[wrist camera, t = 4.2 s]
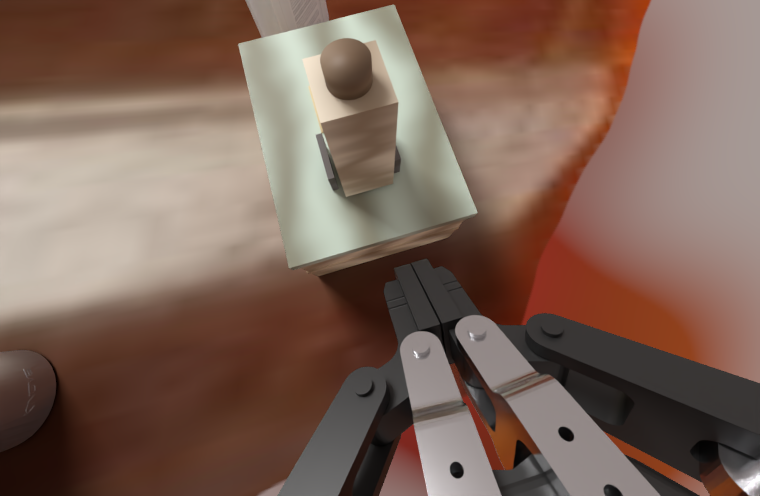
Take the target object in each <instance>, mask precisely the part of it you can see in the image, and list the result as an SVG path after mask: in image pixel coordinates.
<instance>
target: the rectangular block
mask: <svg viewBox="0 0 760 496" xmlns="http://www.w3.org/2000/svg"><path fill="white" fill-rule="evenodd" d="M342 38H352V39H356V40H359V41H361V42H362V43H366V42H370V41H374V40H376V42H377V45H378V48H379V50H380V53H381V56H382V59H383V61H384V64H385V67H386V69H387V72H388V75H389V78H390V80H391V83H392V86H393V88H394V91H395V94H396V97H397V99H398V118H397V133H396V148H395V163H394V178H393V184H390V185H386V186H383V187H379V188H376V189H372V190H369V191H365V192H362V193H358V194H355V195H351V196H348V197H346V196H345V193H344V190H343V187H342V184H341V181H340V178H339V175H338V172H337V170H336V167H335V164H334V161H333V158H332V155H331V152H330V149H329V146H328V144H327V141H326V138H325V135H324V132H323V129H322V126H321V123H320V120H319V116H318V113H317V109H316V106H315V102H314V99H313V95H312V92H311V88H310V85H309V81H308V78H307V75H306V71H305V68H304V64H303V61H302V59H304V58H308V57H312V56H316V55H320V54H322V51H323V50H324V48H325V47H326V46H327V45H328V44H330V43H331V42H333V41H335V40H338V39H342ZM238 45H239V49H240V54H241V58H242V63H243V67H244V71H245V76H246V80H247V85H248V89H249V93H250V98H251V102H252V107H253V111H254V116H255V120H256V124H257V129H258V133H259V138H260V142H261V147H262V151H263V155H264V160H265V164H266V169H267V173H268V177H269V182H270V186H271V191H272V195H273V200H274V204H275V208H276V213H277V217H278V222H279V226H280V230H281V235H282V239H283V244H284V248H285V253H286V257H287V261H288V266H289V269H292V270H296V269H299V268H302V269H304V270H306V271H307V273H312V274H314V275H316V276H321V275H324V274H328V273H331V272H334V271H338V270H341V269H344V268H348V267H351V266H355V265H358V264H361V263H365V262H368V261H371V260H375V259H378V258H381V257H385V256H388V255H392V254H395V253H398V252H402V251H405V250H408V249H412V248H415V247H418V246H422V245H425V244H429V243H432V242H435V241H439V240H442V239H445V238H449V237H450V236H451V234H452V233H453V232H454V231H455V230H457V229H459V228H460V227H459V225H460V224H461V223H462V222H463V221H464V220H465V219H468V218H472V217H474V216H475V215H476V214H477V213H478V212H477V210H476V207H475V205H474V202H473V200H472V197H471V195H470V192H469V190H468V187H467V185H466V182H465V180H464V177H463V175H462V172H461V170H460V167H459V165H458V162H457V160H456V158H455V155H454V153H453V150H452V148H451V145H450V143H449V140H448V138H447V135H446V133H445V130H444V128H443V125H442V123H441V120H440V118H439V115H438V113H437V110H436V108H435V105H434V103H433V100H432V98H431V95H430V93H429V90H428V88H427V85H426V83H425V80H424V78H423V75H422V73H421V70H420V68H419V65H418V63H417V60H416V58H415V55H414V53H413V50H412V48H411V45H410V43H409V40H408V38H407V35H406V33H405V30H404V28H403V25H402V23H401V20H400V18H399V15H398V13H397V10H396V8H395V5H390V6H386V7H382V8H378V9H374V10H370V11H366V12H363V13H359V14H355V15H351V16H347V17H343V18H339V19H335V20H331V21H327V22H323V23H319V24H315V25H311V26H307V27H303V28H299V29H295V30H291V31H287V32H283V33H279V34H275V35H272V36H268V37H264V38H260V39H256V40H252V41H248V42H244V43H240V44H238Z"/></svg>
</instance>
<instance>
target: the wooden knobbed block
mask: <svg viewBox="0 0 760 496" xmlns="http://www.w3.org/2000/svg"><path fill="white" fill-rule="evenodd" d="M302 61H303V64H304V68H305V71H306V75H307V78H308V81H309V85H310V88H311V92H312V95H313V99H314V102H315V106H316V109H317V113H318V116H319V120H320V123H321V126H322V129H323V132H324V135H325V138H326V141H327V144H328V146H329V149H330V152H331V155H332V158H333V161H334V164H335V167H336V170H337V172H338V175H339V178H340V181H341V184H342V187H343V190H344V193H345V196H346V197H348V196H351V195H355V194H358V193H362V192H365V191H369V190H372V189H376V188H379V187H383V186H386V185H390V184H393V178H394V163H395V148H396V133H397V118H398V99H397V97H396V94H395V91H394V88H393V86H392V83H391V80H390V78H389V75H388V72H387V69H386V67H385V64H384V61H383V59H382V56H381V53H380V50H379V48H378V45H377V42H376V40H374V41H370V42H366V43H362V42H361V41H359V40H356V39H352V38H342V39H338V40H335V41H333V42H331V43H330V44H328V45H327V46H326V47H325V48H324V50H323V51H322V54H320V55H316V56H312V57H308V58H304V59H302Z"/></svg>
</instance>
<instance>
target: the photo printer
mask: <svg viewBox="0 0 760 496" xmlns="http://www.w3.org/2000/svg"><path fill="white" fill-rule="evenodd" d="M246 2H247V5H248V7H249V9H250V11H251V14H252V16H253V18H254V20H255V23H256V25H257V27H258V29H259V32H260V34H261V36H262V38H264V37H268V36H272V35H275V34H279V33H283V32H287V31H291V30H295V29H299V28H303V27H307V26H311V25H315V24H319V23H323V22H327V21H329V16H328V11H327V5H326V0H246Z"/></svg>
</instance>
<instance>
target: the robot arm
mask: <svg viewBox="0 0 760 496" xmlns="http://www.w3.org/2000/svg"><path fill="white" fill-rule="evenodd" d="M394 272H395V277H396V280H394V281H390V282H387V283H386V284H385V288H384V296H385V299H386V303H387V306H388V310H389V313H390V317H391V320H392V323H393V327H394V330H395V333H396V337H397V340H398V349H397V352H396V354H395V355H394V357H393V358H392V359H391V360H390V361H389V362H388V363H386V364H385V365H383V366H382V367H380V368H379V369H376V368H373V367H362V368H359V369H357V370H355V371H353V372H352V373H351V374H350V375H349V376H348V377H347V379H346V380H345V382H344V383H343V385H342V387H341V389H340V390H339V392H338V394H337V395H336V397H335V399H334V400H333V402H332V404H331V406H330V407H329V409H328V411H327V412H326V414H325V416H324V417H323V419H322V421H321V422H320V424H319V426H318V428H317V429H316V431H315V433H314V434H313V436H312V438H311V439H310V441H309V443H308V445H307V446H306V448H305V450H304V451H303V453H302V455H301V456H300V458H299V460H298V462H297V463H296V465H295V467H294V468H293V470H292V472H291V473H290V475H289V477H288V478H287V480H286V482H285V484H284V485H283V487H282V489H281V490H280V492H279V494H278V496H379V494H380V491H381V488H382V486H383V483H384V480H385V478H386V475H387V472H388V470H389V467H390V464H391V462H392V459H393V456H394V454H395V451H396V448H397V445H398V443H399V440H400V438H401V434H402V433H403V432H404V431H405V430H406V429H408V428H409V427H410V426H411V425H412V424H414V427H415V433H416V438H417V443H418V448H419V452H420V457H421V462H422V467H423V472H424V477H425V482H426V487H427V492H428V496H699V495H697V494H696V493H694V492H692V491H690V490H688V489H687V488H685V487H683V486H682V485H680V484H678V483H676V482H675V481H673V480H671V479H669V478H667V477H666V476H664V475H662V474H660V473H659V472H657V471H655V470H654V469H652V468H650V467H648V466H646V465H644V464H643V463H641V462H639V461H637V460H636V459H633V458H631V457H629V456H627V455H624V454H623V453H622V452H621V451H620V450H619V449H618V448H617V447H616V446H615V444H614V443H613V442H612V441H611V440H610V439H609V438H608V436H606V434H605V433H604V432H603V431H605V432H606V433H608V434H610V435H612V436H614V437H616V438H618V439H620V440H622V441H624V442H625V443H627V444H630V445H631V446H633V447H635V448H637V449H639V450H641V451H643V452H645V453H647V454H648V455H651V456H652V457H654V458H656V459H658V460H660V461H662V462H664V463H666V464H668V465H670V466H671V467H673V468H675V469H677V470H679V471H681V472H683V473H685V474H687V475H689V476H691V477H693V478H695V479H696V480H698V481H700V482H702V483H703V484H704V486H705V488H706V490H707V491H708V493H709V494H710V496H760V383H757V382H754V381H751V380H748V379H745V378H742V377H739V376H736V375H733V374H730V373H727V372H724V371H721V370H718V369H715V368H712V367H709V366H706V365H703V364H700V363H697V362H694V361H691V360H689V359H686V358H683V357H680V356H677V355H673V354H671V353H668V352H665V351H661V350H659V349H656V348H653V347H650V346H647V345H644V344H641V343H638V342H635V341H632V340H629V339H626V338H623V337H620V336H617V335H614V334H611V333H608V332H605V331H602V330H599V329H596V328H593V327H590V326H587V325H584V324H581V323H578V322H575V321H572V320H569V319H566V318H563V317H560V316H557V315H554V314H547V313H544V314H537V315H534V316H533V317H531V318H530V319H529V320H528V321H527V324H526V325H499V324H495V323H494V322H493V321H492V320H490V319H488V318H486V317H484V316H482V315H481V314H480V312H479V311H478V309H477V308H476V307H475V305H474V304H473V302H472V301H471V299H470V298H469V297H468V295H467V294H466V292H465V291H464V289H463V288H462V286H461V285H460V284H459V282H457V279H456V278H455V276H454V275H453V274H452V272H451V271H449V270H447V269H446V268H444V267H442V266H441V267H437V268H434V269H433V267H432V266H431V264H430V262H429V261H428V259H423V260H420V261H416V262H413V263H411V265H410V264H407V265H403V266H400V267H396V268H394ZM452 363H455V365H456V367H457V369H458V371H459V375H460V381H461V384H462V386H463V387H464V389H465V391H466V393H467V395H468V396H469V398H470V400H471V401H472V403H473V405H474V407H475V409H476V411H477V412H478V414H479V416H480V418H481V419H482V421H483V423H484V425H485V426H486V428H487V430H488V432H489V434H490V436H491V438H492V440H493V443H494V446H495V449H496V452H497V454H498V457H499V459H500V461H501V463H502V465H503V467H504V469H505V470H492V469H491V466H490V464H489V461H488V458H487V456H486V453H485V451H484V448H483V445H482V442H481V440H480V437H479V434H478V432H477V429H476V427H475V424H474V421H473V419H472V416H471V414H470V411H469V409H468V407H467V405H466V404H465V403H464V402H463V400H462V398H461V395H460V393H459V390H458V387H457V384H456V382H455V379H454V376H453V374H452V371H451V368H450V365H449V364H452ZM55 395H56V379H55V374H54V371H53V369H52V366H51V365H50V363H49V362H48V361H47V359H45V358H44V357H43V356H42V355H40V354H38V353H36V352H33V351H28V350H17V351H7V352H0V452H2V451H5V450H8V449H10V448H13V447H15V446H17V445H19V444H21V443H23V442H24V441H26V440H27V439H28V438H30V437H31V436H32V435H33V434H34V433H35V432H36V431H37V430H38V429H39V428H40V427H41V426H42V424H43V423H44V421H45V420H46V418H47V417H48V415H49V413H50V410H51V408H52V406H53V403H54V399H55Z"/></svg>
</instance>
